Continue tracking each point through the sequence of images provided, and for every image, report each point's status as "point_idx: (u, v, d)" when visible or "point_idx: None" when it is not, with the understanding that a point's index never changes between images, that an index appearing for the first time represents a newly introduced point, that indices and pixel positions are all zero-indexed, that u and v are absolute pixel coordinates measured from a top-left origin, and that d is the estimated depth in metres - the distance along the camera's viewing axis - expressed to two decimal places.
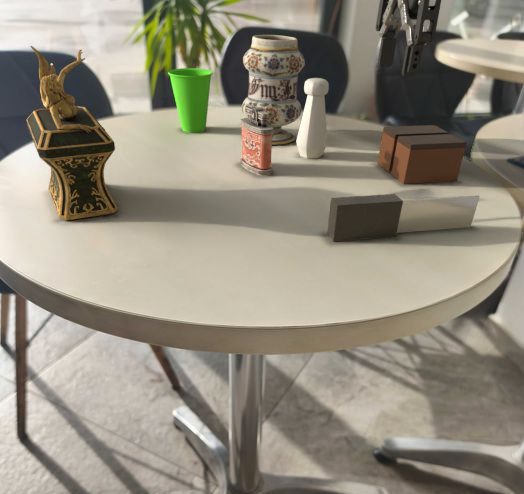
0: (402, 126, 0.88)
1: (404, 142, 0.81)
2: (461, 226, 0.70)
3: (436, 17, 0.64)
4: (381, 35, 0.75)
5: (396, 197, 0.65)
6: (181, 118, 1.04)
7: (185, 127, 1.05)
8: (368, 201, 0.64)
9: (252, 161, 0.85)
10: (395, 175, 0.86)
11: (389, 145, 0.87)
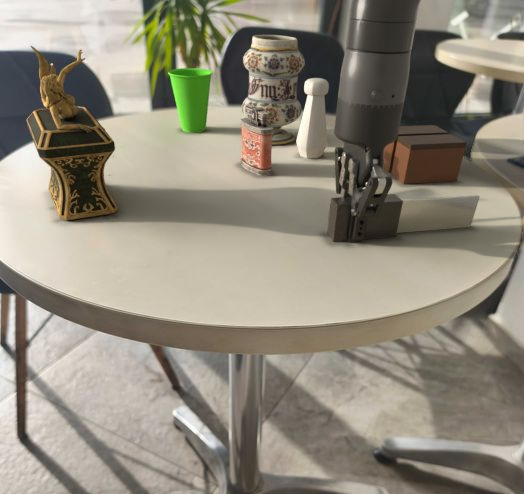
0: (402, 126, 0.88)
1: (404, 142, 0.81)
2: (461, 226, 0.70)
3: (381, 201, 0.59)
4: None
5: (396, 197, 0.65)
6: (181, 118, 1.04)
7: (185, 127, 1.05)
8: None
9: (252, 161, 0.85)
10: (395, 175, 0.86)
11: (389, 145, 0.87)
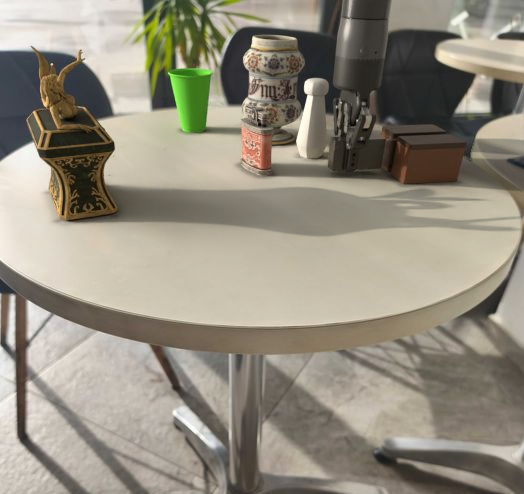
0: (401, 125, 0.89)
1: (404, 142, 0.81)
2: None
3: (369, 135, 0.78)
4: None
5: (381, 136, 0.84)
6: (181, 118, 1.04)
7: (185, 127, 1.05)
8: None
9: (252, 161, 0.85)
10: (395, 175, 0.86)
11: None
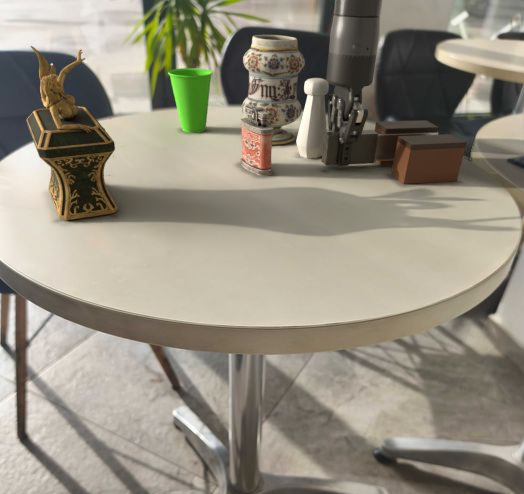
0: (394, 121, 0.91)
1: (404, 142, 0.81)
2: None
3: (361, 129, 0.80)
4: None
5: (373, 131, 0.86)
6: (181, 118, 1.04)
7: (185, 127, 1.05)
8: None
9: (252, 161, 0.85)
10: (395, 175, 0.86)
11: None
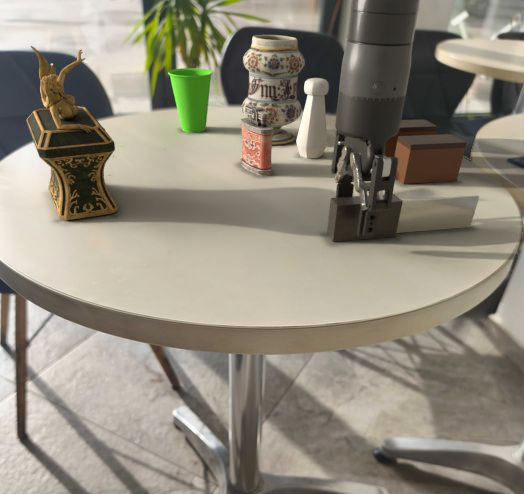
0: None
1: (404, 142, 0.81)
2: (461, 226, 0.70)
3: (391, 187, 0.56)
4: (336, 181, 0.67)
5: (396, 197, 0.65)
6: (181, 118, 1.04)
7: (185, 127, 1.05)
8: None
9: (252, 161, 0.85)
10: None
11: None
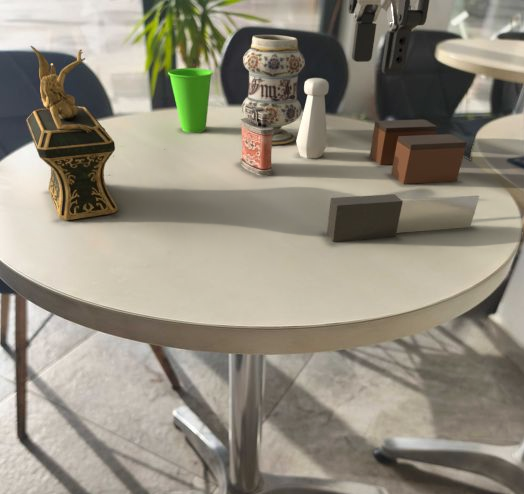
0: (393, 120, 0.91)
1: (404, 142, 0.81)
2: (461, 226, 0.70)
3: None
4: (355, 18, 0.55)
5: (396, 197, 0.65)
6: (181, 118, 1.04)
7: (185, 127, 1.05)
8: (368, 201, 0.64)
9: (252, 161, 0.85)
10: (395, 175, 0.86)
11: (380, 139, 0.90)
